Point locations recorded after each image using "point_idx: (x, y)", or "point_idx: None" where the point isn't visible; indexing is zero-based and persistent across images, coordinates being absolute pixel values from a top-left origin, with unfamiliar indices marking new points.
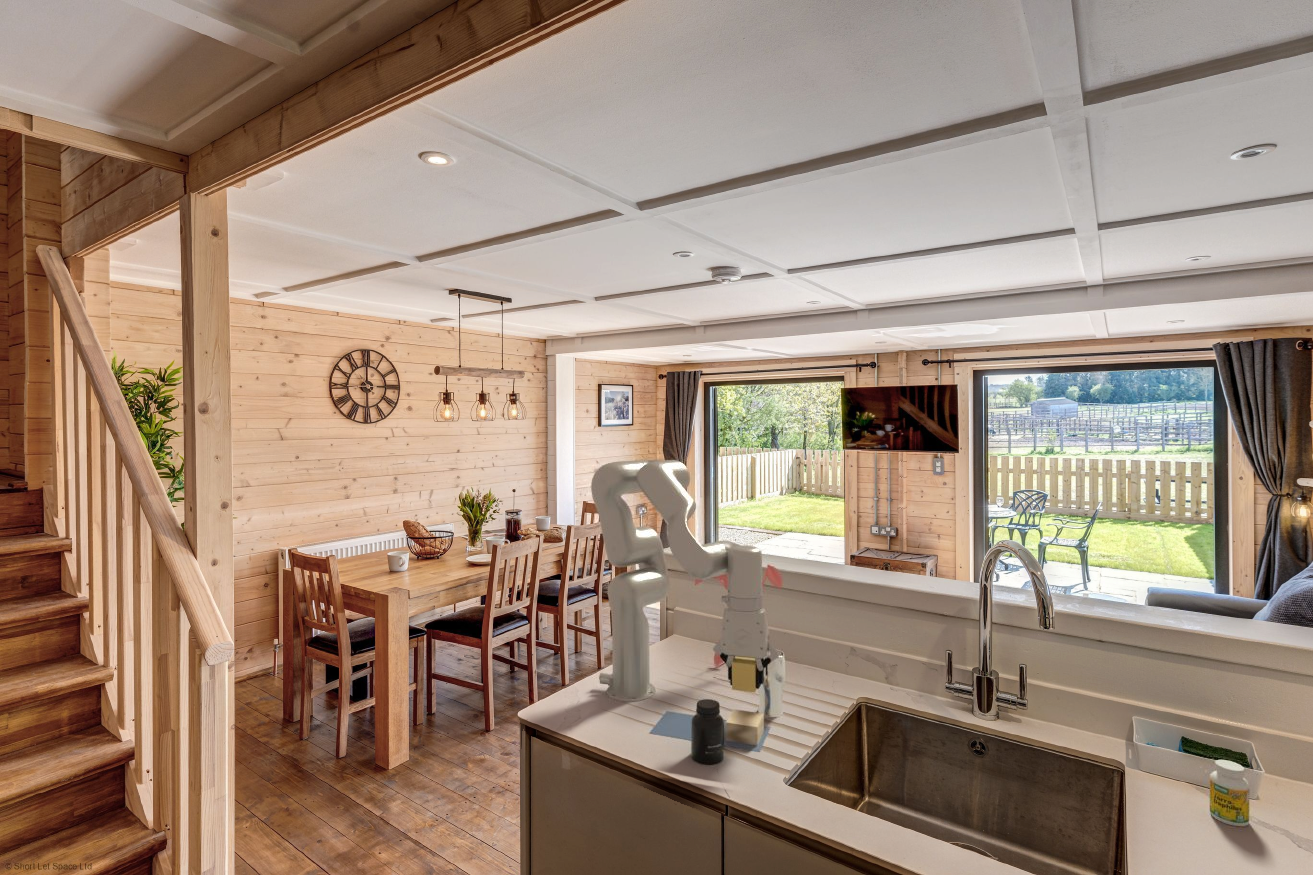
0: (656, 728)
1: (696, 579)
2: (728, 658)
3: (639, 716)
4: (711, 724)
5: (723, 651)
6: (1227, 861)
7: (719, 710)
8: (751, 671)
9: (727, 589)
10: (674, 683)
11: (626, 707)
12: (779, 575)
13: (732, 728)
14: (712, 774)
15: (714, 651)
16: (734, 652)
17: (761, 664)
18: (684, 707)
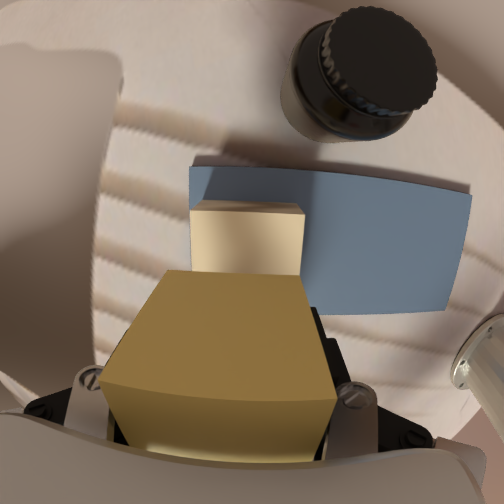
0: (462, 221)
1: None
2: (369, 435)
3: (483, 278)
4: (331, 21)
5: (453, 461)
6: None
7: (322, 68)
8: (145, 343)
9: None
10: (414, 412)
11: (496, 303)
12: None
13: (278, 209)
14: (292, 41)
15: (470, 445)
16: (323, 499)
17: (73, 395)
18: (407, 347)
